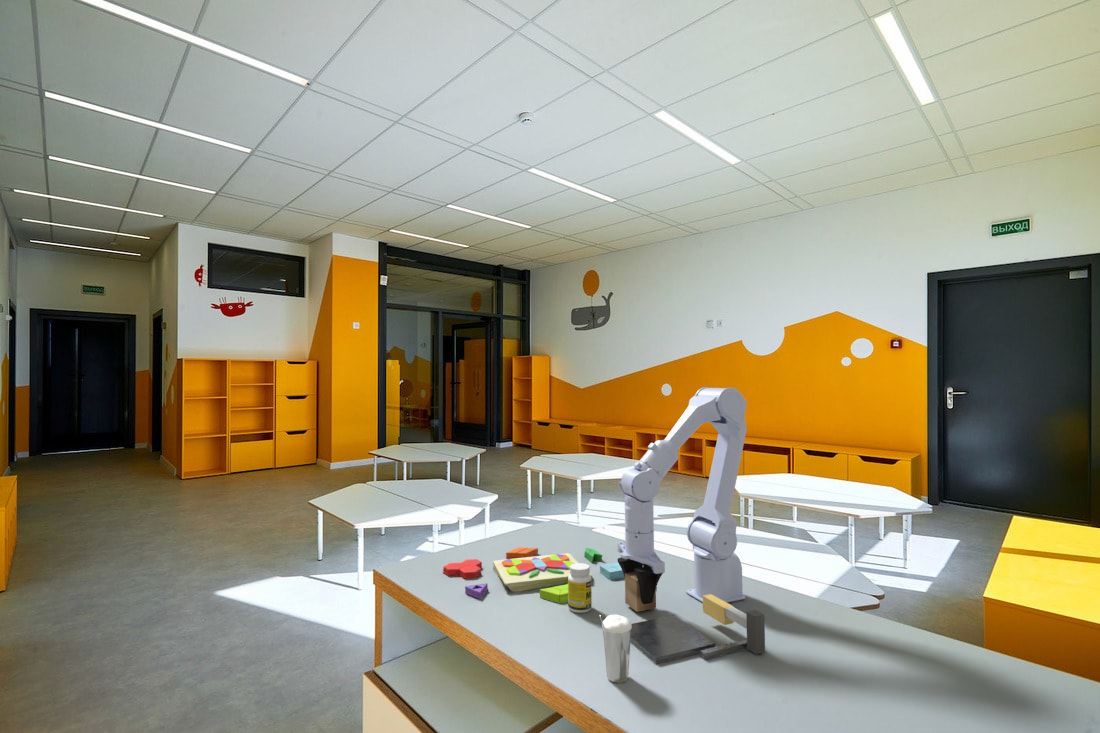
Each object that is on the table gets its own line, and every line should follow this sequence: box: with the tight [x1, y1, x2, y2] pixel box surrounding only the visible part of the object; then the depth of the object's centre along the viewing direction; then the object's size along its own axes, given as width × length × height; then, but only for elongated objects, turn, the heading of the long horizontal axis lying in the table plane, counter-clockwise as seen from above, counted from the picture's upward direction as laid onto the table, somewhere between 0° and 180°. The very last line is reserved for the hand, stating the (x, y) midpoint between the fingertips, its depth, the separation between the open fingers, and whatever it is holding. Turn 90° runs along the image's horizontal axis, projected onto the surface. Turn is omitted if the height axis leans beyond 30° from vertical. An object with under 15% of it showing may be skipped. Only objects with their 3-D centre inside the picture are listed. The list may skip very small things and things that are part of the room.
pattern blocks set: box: [442, 546, 625, 604], centre depth 127 cm, size 38×34×3 cm
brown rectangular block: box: [624, 572, 658, 612], centre depth 108 cm, size 6×4×6 cm
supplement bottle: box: [567, 562, 593, 614], centre depth 108 cm, size 5×5×8 cm
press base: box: [630, 614, 748, 665], centre depth 95 cm, size 20×14×1 cm
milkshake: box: [598, 614, 633, 684], centre depth 83 cm, size 4×5×10 cm
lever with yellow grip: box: [702, 594, 766, 655], centre depth 95 cm, size 2×14×6 cm, turn 23°
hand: (640, 598), depth 108 cm, fingers closed on brown rectangular block, 4 cm apart
